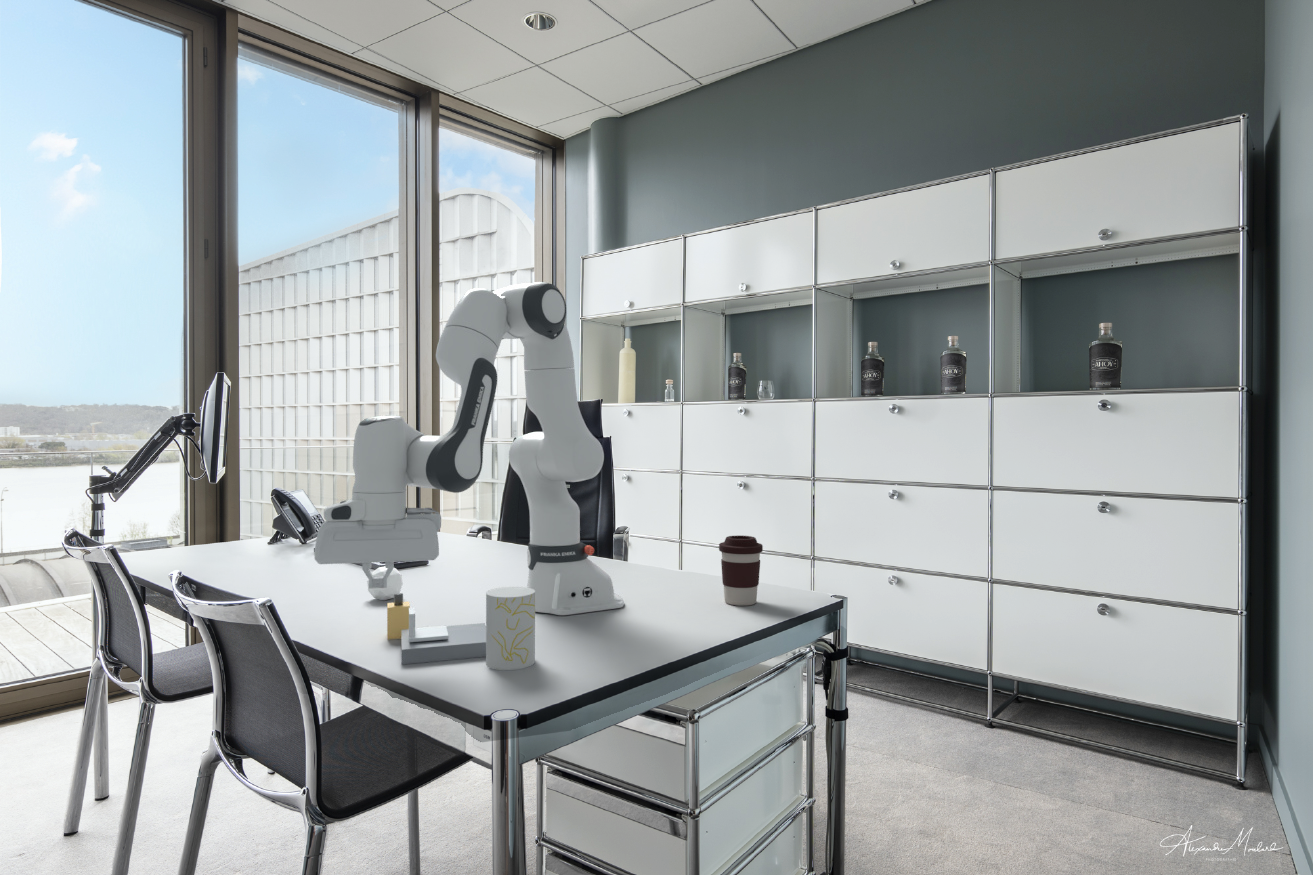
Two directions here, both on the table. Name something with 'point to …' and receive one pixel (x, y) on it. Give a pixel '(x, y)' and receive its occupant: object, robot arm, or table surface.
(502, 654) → the cup
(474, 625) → the socket board
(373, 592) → the geometric ball
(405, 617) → the plug
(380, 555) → the robot arm
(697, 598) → the table surface
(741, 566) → the coffee cup
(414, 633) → the white l-shaped bracket
